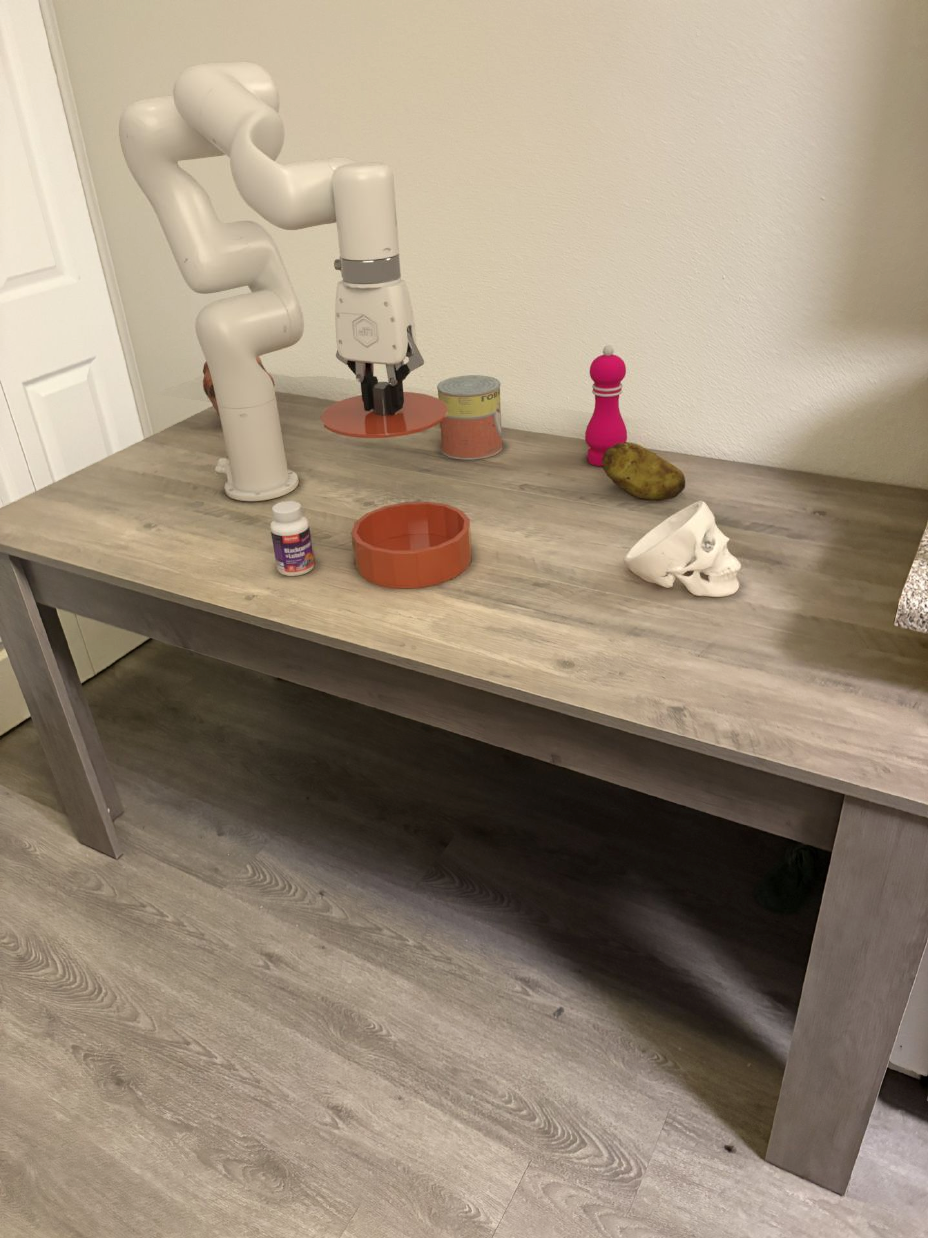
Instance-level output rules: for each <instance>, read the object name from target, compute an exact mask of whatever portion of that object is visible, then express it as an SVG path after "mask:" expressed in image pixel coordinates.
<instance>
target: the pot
mask: <svg viewBox="0 0 928 1238" xmlns="http://www.w3.org/2000/svg"><path fill="white" fill-rule="evenodd" d="M471 532H472V531H471V519H470V518H469V517H468V516H467V514H466V513H465V512H464V511H463V510H462V509H459V508H457V507H454V506H452V505H449V504H445V503H440V502H432V501H405V502H400V503H395V504H390V505H385V506H381V507H379V508H376V509H373V510H371V511H369V512H366V513H365V514H364V515H362V516H361V517H359V518H358V519H357V520H356V521H355V522H354V524H353V526H352V529H351V531H350V536H351V543H352V550H353V559H354V564H355V566H356V569H357V571H358V574H359V575H360V576H361V577H362V578H363V579H364V580H366V581H368V582H370V583H372V584H374V585H378V586H380V587H385V588H391V589H419V588H427V587H431V586H436V585H440V584H443V583H446V582H449V581H451V580H452V579H454V578H456V577H458V576H459V575H461V574H463V572H464V571H466V570H467V568H468V567H469V566H470V564H471V561H472V549H473V548H472V535H471V534H472V533H471Z"/></svg>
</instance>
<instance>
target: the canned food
mask: <svg viewBox="0 0 928 1238" xmlns="http://www.w3.org/2000/svg"><path fill="white" fill-rule="evenodd" d="M436 389H437V398H438V399H440V400H441V401H443V402H444V403H445V404H446V406H447V410H448V412H447V416H446V418H445V419H444V420H443V421H442V422H440V423H439V426H440V441H441V442H440V443H441V453H442V454H443V455H444V456H446V457H448V458H450V459H453V460H461V461H476V460H483V459H488V458H491V457H494V456H496V455H497V454H499V453H501V452H502V450H503V438H502V434H503V433H502V406H501V381H500V380H498V379H497V378H495V377H492V376H489V375H480V374H479V375H478V374H477V375H474V374H471V375H469V374H468V375H460V376H454V377H449V378H446V379H443V380H442V381H440V382H438V384H437V386H436Z"/></svg>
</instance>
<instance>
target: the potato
mask: <svg viewBox="0 0 928 1238" xmlns="http://www.w3.org/2000/svg"><path fill="white" fill-rule="evenodd" d="M602 464H603V471H604V473H605V474H606V476H607V477H608V478H609V479H610V480H611V481H612V482H613V484H615V485H616V486H617V487H619V488H622V489H623V490H625V491H626V492H627V493H629V494H630V495H632V496H634V497H636V498H638V499H644V500H666V499H669V498H674V497H676V496H678V495H679V494H681V493H682V492H683V491H684V490H685V488H686V477H685V474H684V473H683V471H682V470H681V469H679V468H678V467H677V466H675V465H674V464H673V463H671V462H669V461H668V460H666V459H664V458H662V457H660V456H659V455H657V454H656V453H655V452H652V451H650V450H649V449H647V448H645V447H644V446H642V445H640V444H638V443H636V442H635V443H634V442H627V441H626V442H624V443H617V444H616V445H614V446H612V447H610V448H609V449H608V450H607V451H606V452H605V453H604V455H603V457H602Z"/></svg>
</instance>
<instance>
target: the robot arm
mask: <svg viewBox="0 0 928 1238" xmlns="http://www.w3.org/2000/svg"><path fill="white" fill-rule="evenodd" d="M279 112H280V94H279V90H278V87H277V85H276V82H275V80H274V78H273V77H272V75H271V74H270V73H269V72H268V71H267V70H266V69H265V67H263V66H261V65H260V64H258V63H256V62H254V61H247V60H243V61H242V60H241V61H220V62H219V61H218V62H204V63H203V62H202V63H197V64H193V65H191V66H189V67H187V68H185V69H184V70H183V71H181V72H180V73H179V75H178V76H177V77H176V80H175V81H174V84H173V88H172V95H160V96H152V97H147V98H142V99H139V100H136V101H133V102H131V103H130V104H128V105H127V106H126V107H125V108H124V109H123V110H122V112H121V114H120V118H119V121H118V122H119V123H118V136H119V137H118V138H119V143H120V147H121V150H122V151H121V152H122V156H123V158H124V161H125V163H126V165H127V168H128V170H129V172H130V174H131V175H132V178H133V179H134V181H135V182H136V184H137V186H138V187H139V189H140V190H141V192H142V193H143V194H144V196H145V198H146V200H148V202H149V203H150V205H151V207H152V209H153V211H154V213H155V216H156V217H157V219H158V222H159V224H160V227H161V229H162V232H163V234H164V237H165V239H166V241H167V243H168V246H169V248H170V250H171V253H172V255H173V258H174V260H175V262H176V265H177V267H178V269H179V272H180V274H181V276H182V278H183V280H184V282H185V283H186V285H187V287H189V289H190V290H191V291H192V292H195V293H197V294H202V295H207V294H215V293H221V292H226V291H230V290H234V289H239V288H242V287H248V289H249V290H250V292H248V293H243V294H237V295H233V296H230V297H225V298H221V299H218V300H215V301H213V302H210V303H208V304H207V305H205V306H204V307H203V308H202V309H201V310H200V311H199V312H198V313H197V316H196V318H195V323H194V324H195V326H194V327H195V333H196V337H197V341H198V343H199V346H200V348H201V351H202V353H203V356H204V359H205V362H206V361H207V364H208V367H209V371H210V374H211V378H212V382H213V386H214V391H215V396H216V401H217V405H218V410H219V415H220V417H219V419H220V425H221V431H222V434H223V435H222V436H223V440H224V446H225V451H226V455H227V457H220V458H218V461H217V465H216V466H215V468H214V469H215V470H214V471H215V473H216V474H221V475H226V479H227V481H226V482H225V484H224V492H225V495H226V496H227V497H228V498H230V499H232V500H235V501H241V502H263V501H269V500H273V499H277V498H281V497H283V496H285V495H288V494H290V493H291V492H293V491H294V490H295V489H297V487H298V485H299V476H298V474H297V473H296V472H295V471H293V470H291V469H288V464H287V457H286V452H285V451H286V450H285V446H284V441H283V439H284V438H283V433H282V432H283V431H282V427H281V421H280V414H279V409H278V403H277V395H276V391H275V385H274V386H273V383H272V380H271V378H270V377H269V375H268V374H267V373H266V372H265V371H264V370H263V369H262V368H261V367H260V365H259V364H258V363H257V361H256V358H257V357H258V356H259V357H261V356H264V355H266V354H270V353H274V352H277V351H281V350H283V349H287V348H290V347H292V346H294V345H295V344H297V343H298V342H300V340H301V339H302V337H303V336H304V335H303V334H304V331H305V320H304V316H303V312H302V308H301V305H300V302H299V300H298V297H297V293H296V291H295V290H294V287H293V284H292V281H291V279H290V276H289V274H288V271H287V269H286V266H285V264H284V261H283V258H282V255H281V253H280V251H279V248H278V246H277V244H276V242H275V240H274V238H273V237H272V235H271V234H270V232H268V230H267V229H266V228H265V227H264V226H263V225H261V224H260V223H258V222H256V221H252V220H239V221H233V222H232V221H231V222H226V223H224V222H222V221H221V219H219V217H218V215H217V213H216V211H215V208H214V205H213V203H212V199H211V197H210V196H209V194H208V192H207V190H206V189H205V188H204V187H203V186H202V185H201V184H200V183H199V182H198V181H197V179H195V177H193V176H192V175H191V174H190V173H188V171H186V170H185V169H183V168H182V167H180V165H179V163H178V162H181V161H189V160H199V159H207V158H215V157H223V156H227V157H228V158H229V161H230V162H229V163H230V172H231V175H232V179H233V182H234V184H235V185H234V186H235V187H236V189H237V191H238V194H239V196H240V197H241V199H242V200H243V202H244V203H245V204H246V205H247V206H248V207H249V208H250V209H252V210H253V211H254V212H255V213H256V214H258V215H259V216H260V217H261V218H263V219H264V220H265V221H266V222H268V223H270V224H271V225H273V226H275V227H277V228H279V229H282V230H287V231H298V230H303V229H308V228H313V227H319V226H323V225H330V224H336V230H337V231H336V232H337V240H338V241H337V242H338V249H339V258H337V259H334V262H333V267H334V269H335V270H336V271H339V272H340V273H341V274H340V275H341V278H342V280H340V281H338V282H337V285H336V292H335V309H334V310H335V311H334V314H335V316H334V317H335V338H336V347H337V350H336V352H335V358H336V359H337V360H339V361H340V362H341V363H343V364H344V365H345V366H347V367H348V369H349V370H350V371H351V372H352V373H353V374H354V375H355V379H356V381H357V382H358V383H360V391H361V392H360V393H361V395H362V401H363V402H364V410H365V411H370V410H371V409H373V404H372V393H371V385H372V384H374V383H377V382H379V379H378V376H375V375H374V371H375V370H374V366H375V365H376V364H377V365H384V366H385V370H386V375H387V380H388V381H387V382H389V384H388V385H387V386H386V388H385V389H386V400H387V411H388V413H389V414H394V413H396V412H397V411H399V410H400V409H402V408H403V404H404V394H403V392H404V383H403V381H404V380H406V378H407V377H408V376H409V374H410V373H412V372H413V371H415V370H416V369H419V368H420V367H421V366H423V365H424V364H425V360H424V358H423V356H422V354H421V351H420V350H419V348H418V347H417V333H416V325H415V317H414V312H413V305H412V301H411V296H410V292H409V289H408V286H407V282H406V280H404V279H402V275H401V274H402V273H401V271H402V270H401V260H400V259H401V258H400V247H399V233H398V232H399V231H398V220H397V219H398V218H397V206H396V193H395V180H394V174H393V171H392V169H391V168H390V167H389V165H387V164H386V163H383V162H375V161H363V162H361V161H357V160H354V159H351V158H349V157H341V156H340V157H339V156H338V157H337V156H336V157H328V158H321V159H316V158H315V159H310V160H309V159H308V160H303V161H296V162H289V163H283V164H281V163H279V162H277V161H276V160H277V159H278V158H279V156H280V154H281V152H282V149H283V146H284V142H285V126H284V123H283V122H284V121H283V119H282V118H281V116H280V115H279ZM406 358H408V361H407V362H406V363H405V361H404V360H405V359H406ZM219 415H218V416H219Z"/></svg>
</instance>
